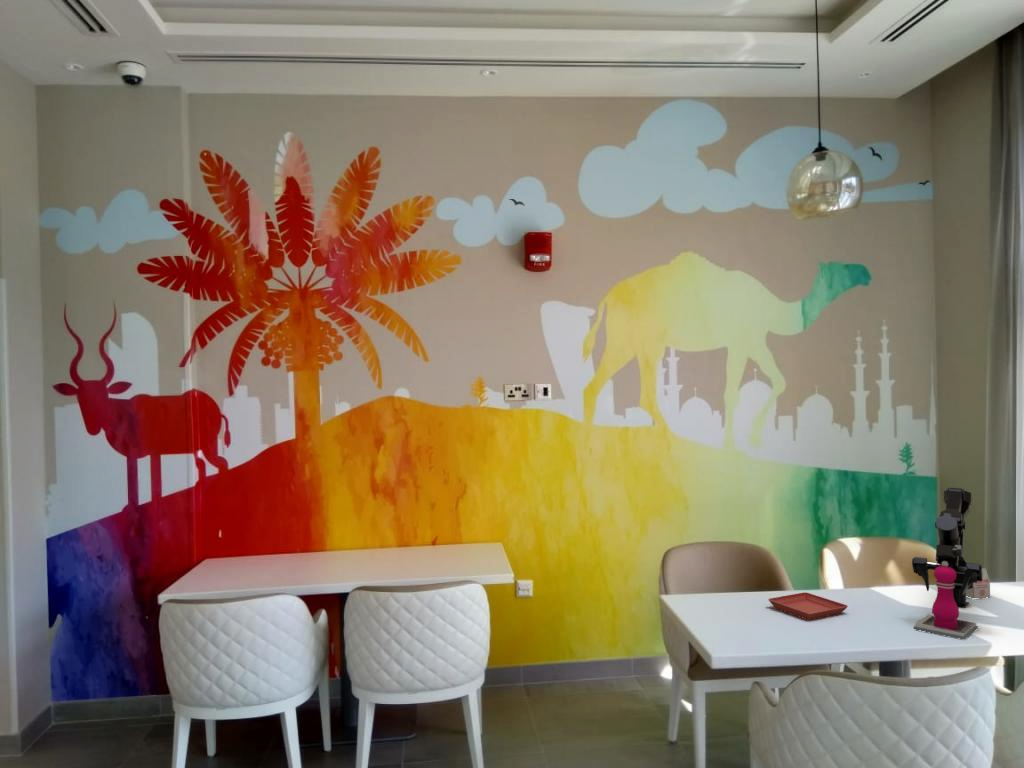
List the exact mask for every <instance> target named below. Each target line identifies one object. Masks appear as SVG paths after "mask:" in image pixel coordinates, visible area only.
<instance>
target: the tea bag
mask: <svg viewBox="0 0 1024 768" xmlns="http://www.w3.org/2000/svg"><path fill="white" fill-rule="evenodd" d="M982 572H983V579H982V581H977V583H973V588H970V589H967V591H966V596H968V597H971V598H986V597H988V598H989V597H990V598H991V580H990V578H989V575H988V572H987V568H984V567H982Z"/></svg>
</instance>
